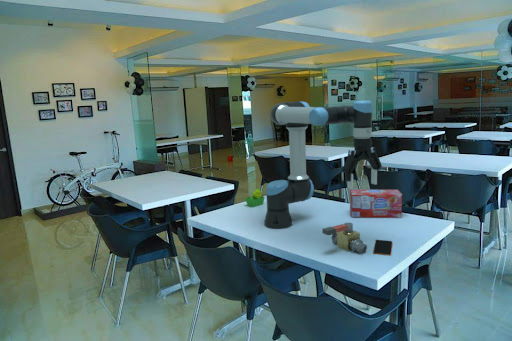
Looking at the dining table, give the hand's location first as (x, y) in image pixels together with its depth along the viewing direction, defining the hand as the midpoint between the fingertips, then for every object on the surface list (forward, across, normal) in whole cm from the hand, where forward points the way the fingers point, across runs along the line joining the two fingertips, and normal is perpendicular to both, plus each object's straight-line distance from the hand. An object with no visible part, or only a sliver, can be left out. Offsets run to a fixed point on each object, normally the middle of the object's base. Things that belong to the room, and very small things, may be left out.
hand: (362, 186), depth 172 cm
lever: (+21, -11, +3) cm, 24 cm away
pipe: (+28, -5, +3) cm, 29 cm away
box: (+28, +39, +32) cm, 58 cm away
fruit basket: (+28, -6, +90) cm, 94 cm away
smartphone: (+28, +7, -6) cm, 30 cm away
